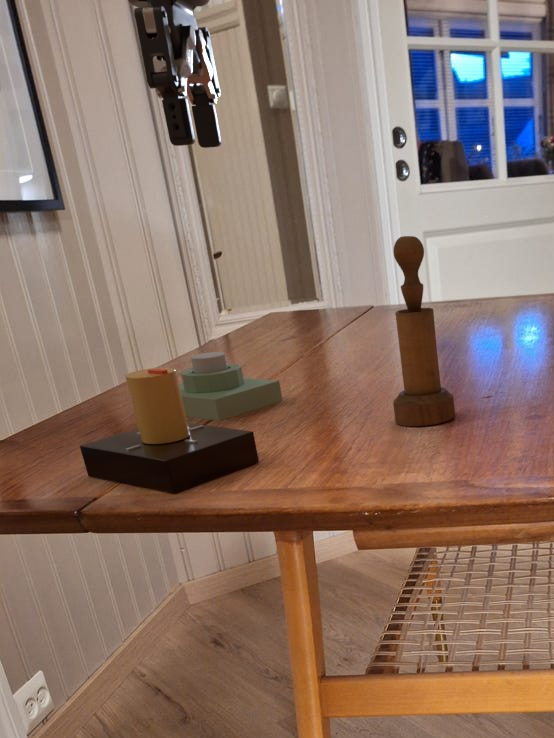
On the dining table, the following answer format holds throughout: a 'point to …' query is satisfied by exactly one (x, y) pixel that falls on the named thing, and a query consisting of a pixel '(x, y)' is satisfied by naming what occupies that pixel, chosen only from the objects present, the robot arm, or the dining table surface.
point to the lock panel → (170, 458)
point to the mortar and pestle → (418, 348)
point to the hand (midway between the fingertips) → (197, 146)
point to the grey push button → (209, 362)
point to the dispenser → (225, 393)
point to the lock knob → (158, 405)
